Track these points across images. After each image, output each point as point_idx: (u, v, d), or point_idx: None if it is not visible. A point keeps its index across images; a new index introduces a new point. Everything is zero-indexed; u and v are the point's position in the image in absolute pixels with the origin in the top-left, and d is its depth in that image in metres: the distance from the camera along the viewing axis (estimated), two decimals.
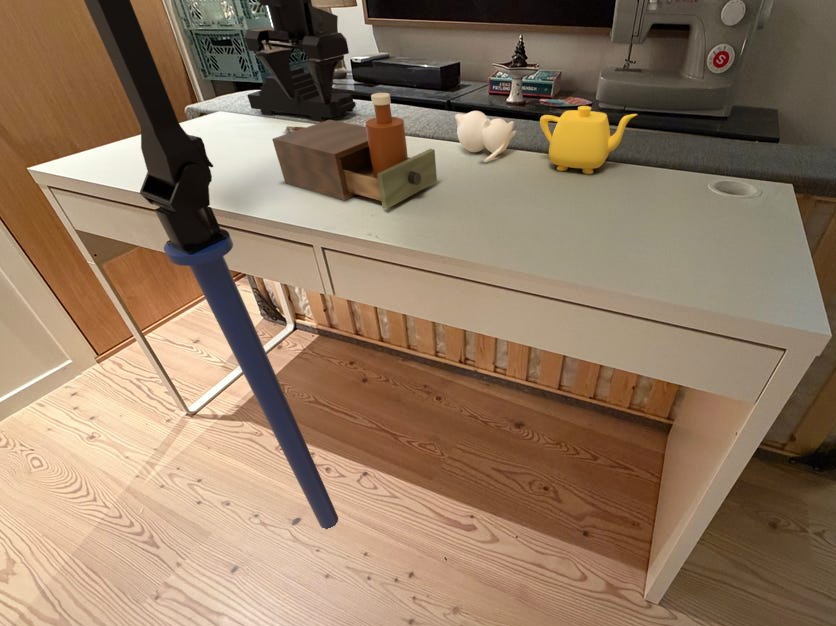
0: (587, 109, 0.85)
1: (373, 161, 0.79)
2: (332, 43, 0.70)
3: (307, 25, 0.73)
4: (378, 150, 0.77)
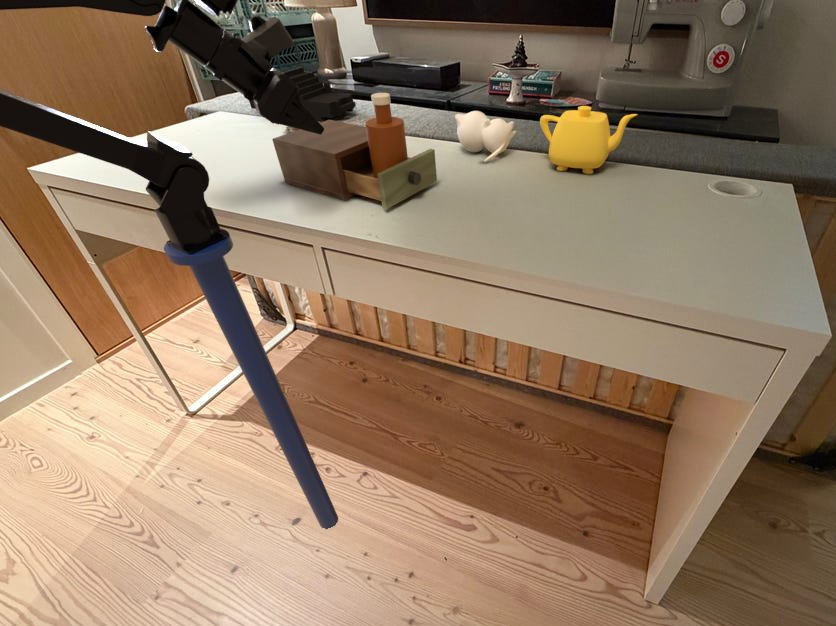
0: (587, 109, 0.85)
1: (373, 161, 0.79)
2: (272, 98, 0.61)
3: (255, 70, 0.64)
4: (378, 150, 0.77)
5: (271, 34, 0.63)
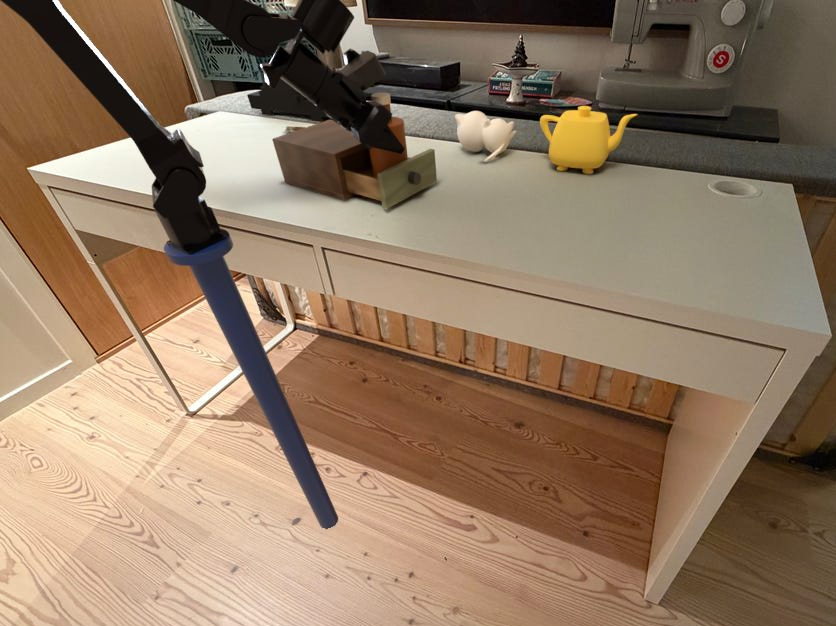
0: (587, 109, 0.85)
1: (373, 161, 0.79)
2: (371, 127, 0.67)
3: (352, 100, 0.70)
4: (378, 150, 0.77)
5: (368, 68, 0.69)
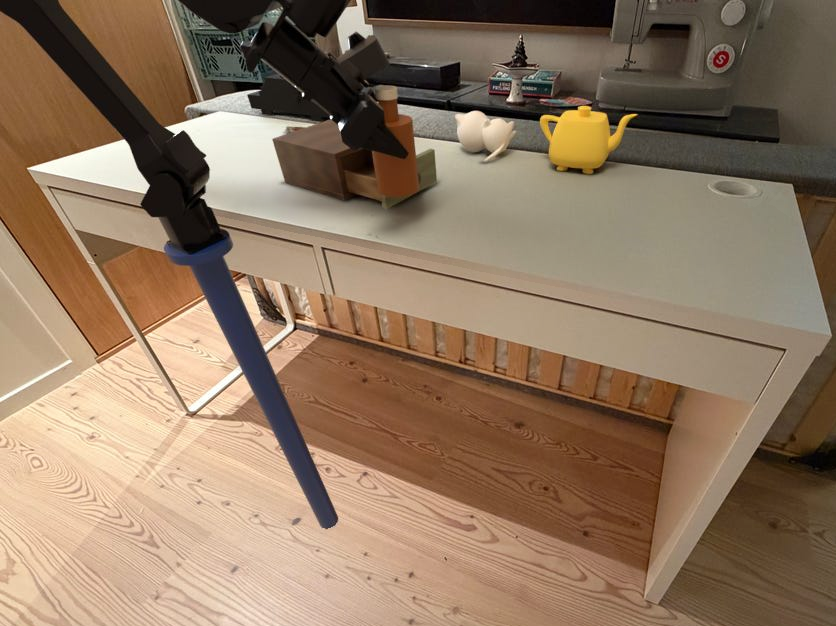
0: (587, 109, 0.85)
1: (374, 164, 0.68)
2: (355, 126, 0.56)
3: (345, 92, 0.59)
4: (378, 152, 0.66)
5: (366, 55, 0.58)
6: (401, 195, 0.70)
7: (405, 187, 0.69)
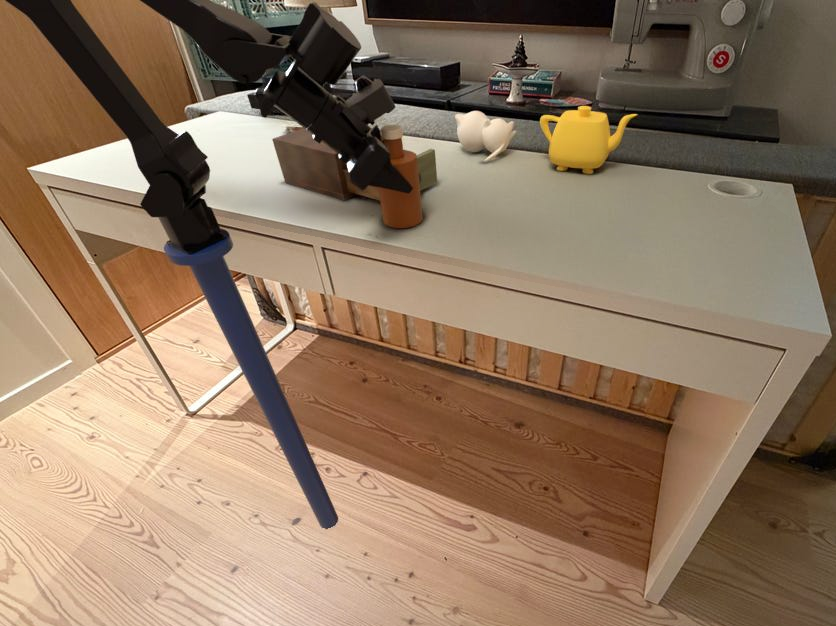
0: (587, 109, 0.85)
1: (380, 197, 0.72)
2: (363, 168, 0.60)
3: (353, 133, 0.63)
4: None
5: (373, 99, 0.61)
6: (406, 226, 0.73)
7: (410, 219, 0.73)
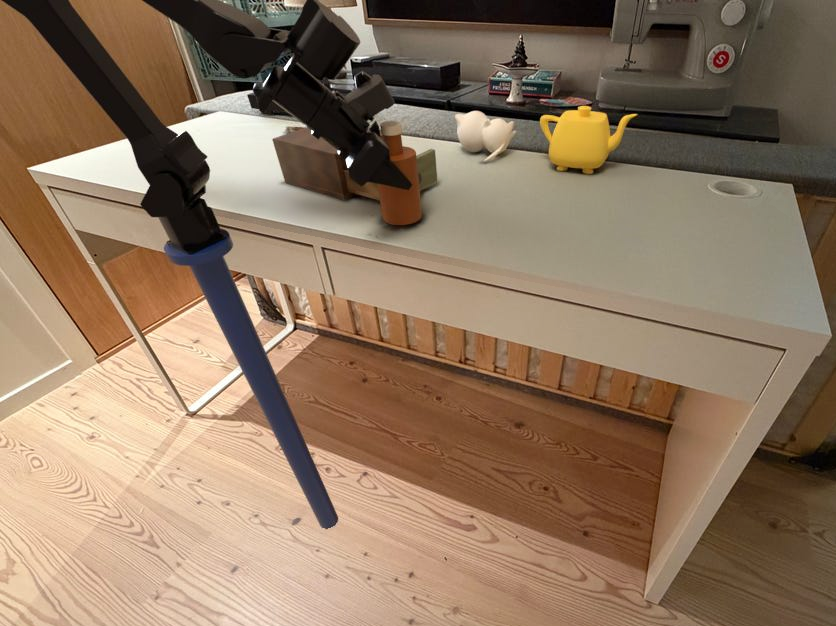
0: (587, 109, 0.85)
1: (379, 194, 0.71)
2: (362, 164, 0.59)
3: (352, 129, 0.62)
4: None
5: (372, 95, 0.61)
6: (405, 223, 0.73)
7: (409, 215, 0.72)
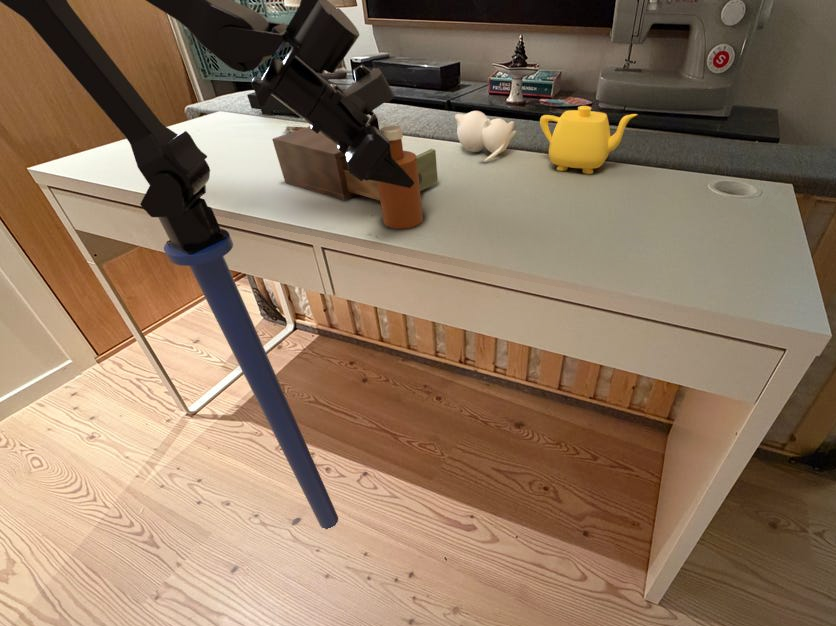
0: (587, 109, 0.85)
1: (380, 198, 0.72)
2: (362, 158, 0.59)
3: (352, 123, 0.62)
4: (384, 188, 0.69)
5: (371, 88, 0.60)
6: (406, 227, 0.73)
7: (410, 219, 0.73)
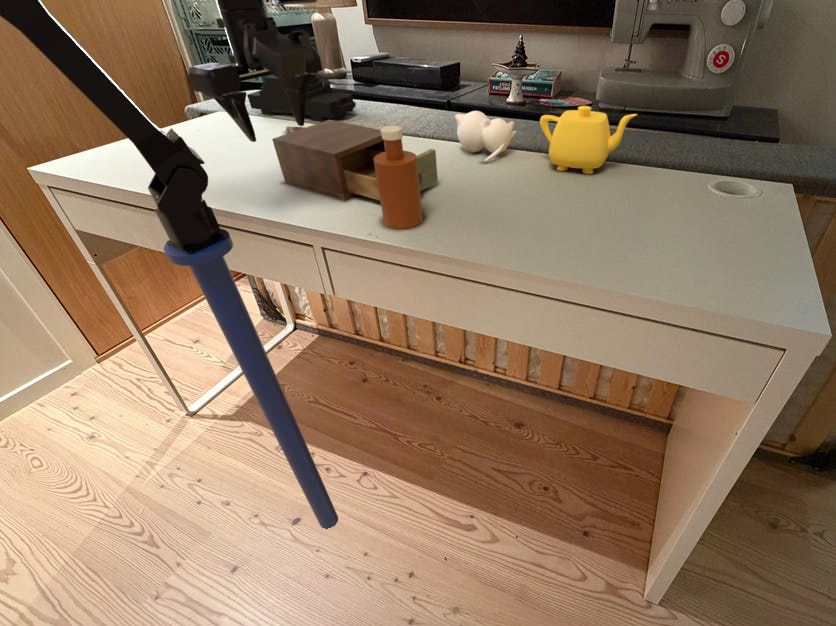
0: (587, 109, 0.85)
1: (380, 198, 0.72)
2: (196, 77, 0.60)
3: (243, 54, 0.62)
4: (384, 188, 0.69)
5: (267, 53, 0.60)
6: (406, 227, 0.73)
7: (410, 219, 0.73)
